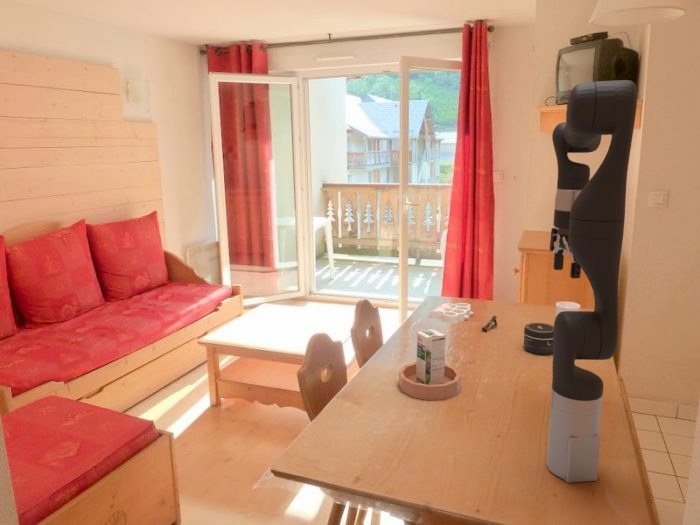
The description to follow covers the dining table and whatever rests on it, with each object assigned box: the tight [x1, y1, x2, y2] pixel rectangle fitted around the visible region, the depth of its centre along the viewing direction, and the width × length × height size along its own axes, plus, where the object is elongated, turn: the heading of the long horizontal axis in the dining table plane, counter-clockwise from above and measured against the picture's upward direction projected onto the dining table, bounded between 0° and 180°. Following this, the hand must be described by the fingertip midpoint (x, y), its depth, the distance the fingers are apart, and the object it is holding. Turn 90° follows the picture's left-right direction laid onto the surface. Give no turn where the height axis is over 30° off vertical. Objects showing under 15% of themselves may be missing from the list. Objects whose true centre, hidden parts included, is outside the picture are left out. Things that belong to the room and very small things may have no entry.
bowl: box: [398, 361, 461, 401], centre depth 148 cm, size 16×16×4 cm
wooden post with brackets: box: [481, 315, 498, 333], centre depth 193 cm, size 2×8×4 cm, turn 132°
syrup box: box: [416, 328, 446, 385], centre depth 147 cm, size 6×6×14 cm
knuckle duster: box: [428, 302, 475, 325], centre depth 208 cm, size 3×18×15 cm
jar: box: [523, 322, 554, 356], centre depth 172 cm, size 10×10×8 cm
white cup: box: [554, 301, 581, 319], centre depth 187 cm, size 8×8×10 cm
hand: (566, 273), depth 134 cm, fingers open, 8 cm apart
